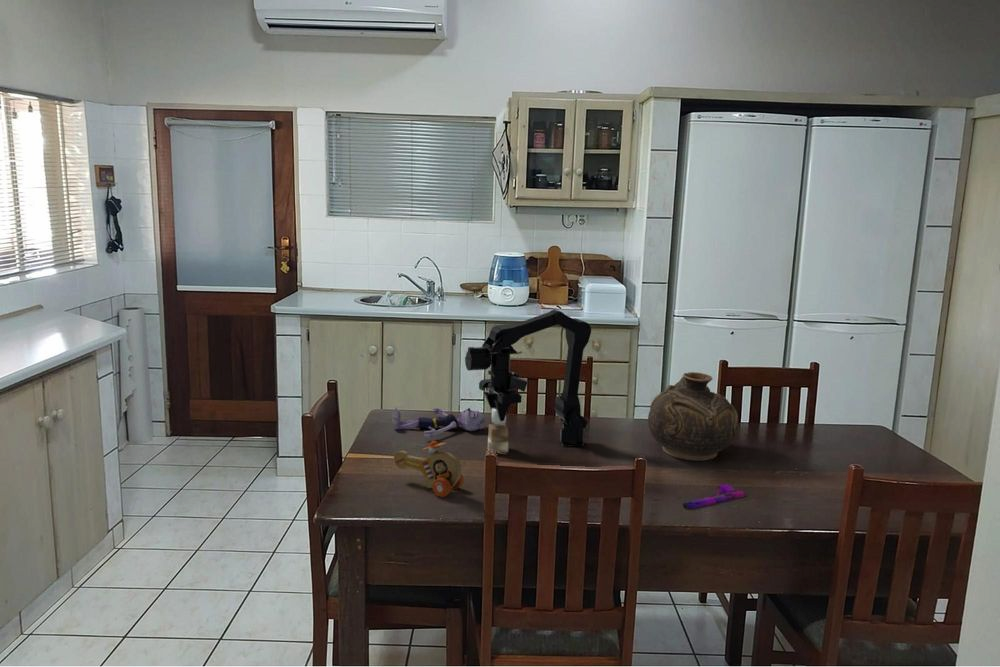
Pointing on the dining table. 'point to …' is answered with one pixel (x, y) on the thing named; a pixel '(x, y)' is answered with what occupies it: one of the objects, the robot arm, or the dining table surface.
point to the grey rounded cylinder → (496, 417)
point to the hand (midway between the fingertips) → (498, 418)
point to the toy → (440, 421)
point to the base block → (498, 446)
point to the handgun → (716, 497)
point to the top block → (498, 432)
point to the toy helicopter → (434, 468)
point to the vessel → (692, 419)
